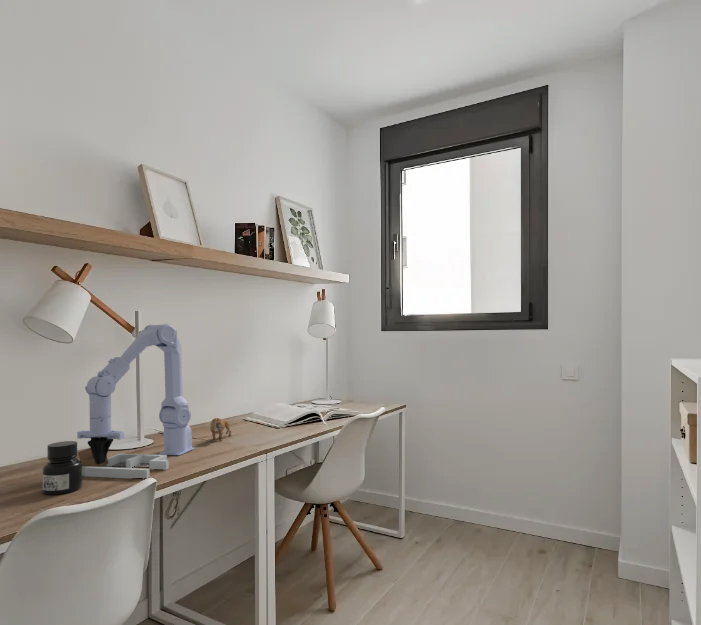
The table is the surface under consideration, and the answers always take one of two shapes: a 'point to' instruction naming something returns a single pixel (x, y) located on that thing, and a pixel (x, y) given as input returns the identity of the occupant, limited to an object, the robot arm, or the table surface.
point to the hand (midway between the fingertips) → (100, 463)
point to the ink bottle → (62, 469)
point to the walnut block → (89, 458)
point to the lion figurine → (219, 428)
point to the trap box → (128, 466)
